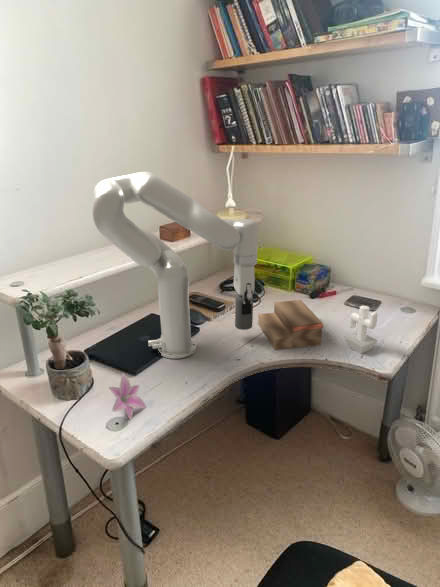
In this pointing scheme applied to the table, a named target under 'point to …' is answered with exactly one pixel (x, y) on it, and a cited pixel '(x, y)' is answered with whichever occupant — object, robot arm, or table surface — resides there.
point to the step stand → (291, 325)
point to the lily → (126, 397)
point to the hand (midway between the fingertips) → (244, 309)
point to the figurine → (362, 330)
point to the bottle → (242, 320)
